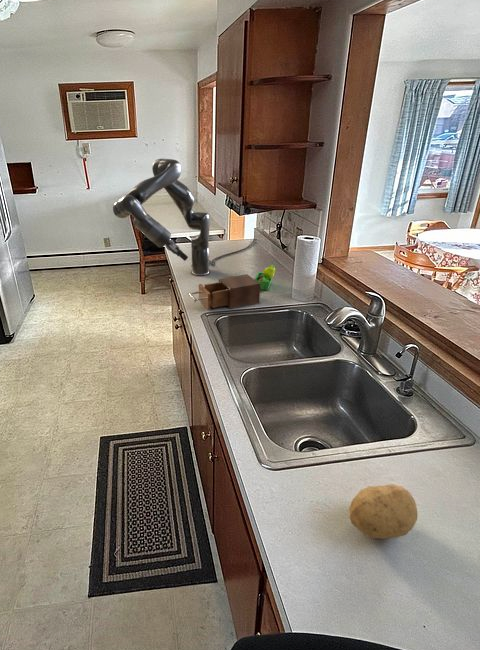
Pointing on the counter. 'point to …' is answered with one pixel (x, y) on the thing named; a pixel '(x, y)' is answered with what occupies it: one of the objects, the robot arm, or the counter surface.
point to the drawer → (212, 295)
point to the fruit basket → (265, 277)
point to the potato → (383, 511)
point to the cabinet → (242, 290)
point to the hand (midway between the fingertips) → (186, 258)
